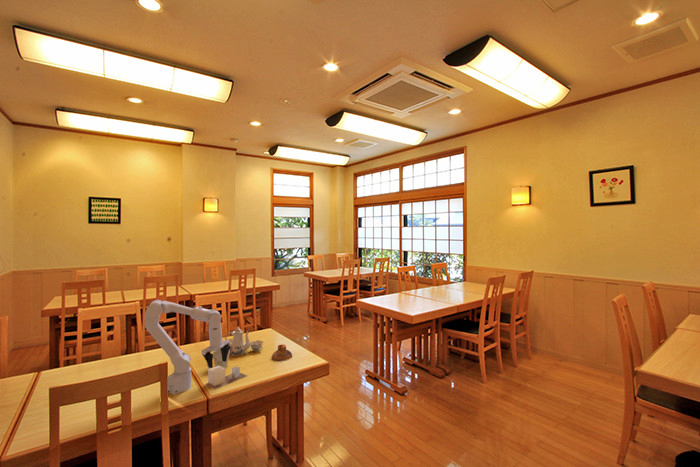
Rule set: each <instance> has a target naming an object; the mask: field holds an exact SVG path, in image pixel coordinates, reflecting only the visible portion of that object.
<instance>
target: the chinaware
mask: <svg viewBox="0 0 700 467" xmlns="http://www.w3.org/2000/svg"><path fill="white" fill-rule="evenodd" d="M249 333H250V331H246V332H245V335H243V334H244V330H242V329H241V328H240V327H239V326H237V328H236V329H235V330H233V331H232V332H227V333H226V334H225V335H224V336H225V337H224V341H227V340H229V341H230V345H229V346H230V353H229V354H230V356H233V357H239V355H240V356H243V355H245V354H246V351H248V350H249V349H251V350H253V352H254V351H257V352H260V351H262V350H263V345H264V341H262V340H260V339H259V340H258V339H257V340H256V341H254V340H251V341H250V338H249ZM229 334H230V336H231V337H232V338H229V339H227V336H228V335H229ZM243 336H244V337H245V341H244V338H243Z"/></svg>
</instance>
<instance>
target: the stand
mask: <svg viewBox="0 0 700 467" xmlns="http://www.w3.org/2000/svg"><path fill="white" fill-rule="evenodd" d="M247 377H248V375H247V374H245V373H242V372H240V378H238V379H233V378H232V373H230V374H228V375H225V382H224V383H221V384H219V385H216V386H213V385H211V384H209V383H208V382H207V383H205V384H204V385H205V386H206V387H209V388H211V389H213V390H218V389H220V388H222V387H225V386H228V385H230V384H231V383H234V382H237V381H239V380H243V379H244V378H247Z"/></svg>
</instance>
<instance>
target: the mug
mask: <svg viewBox="0 0 700 467" xmlns="http://www.w3.org/2000/svg"><path fill="white" fill-rule="evenodd" d="M212 354H213V360H214V361H213V362H214V365H213V367H216V366H221V367H223V368H225V369H227V367H228V364H229V360H230V359H229V358H230V354H231V353H230V350H229V352H228V355H227V360H226V362H224V361H222V353H221V349H220V348H219V349H217V350H214V351H212ZM206 365H207V367H208V364H207V363H206ZM213 367H212V368H213ZM208 369H211V368H209V367H208Z"/></svg>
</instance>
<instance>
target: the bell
mask: <svg viewBox="0 0 700 467" xmlns="http://www.w3.org/2000/svg"><path fill="white" fill-rule="evenodd" d="M292 357H293V353H292V351H290V350H288V349H287V346H286V344H284V343H281V344H279V345H278V346H277V350H276V351H274V352H273V354H272V355H271V360H273V361H276V360H277V361H279V362H282V360H283V361H286V360H287V359H288V360H290V359H291V358H292ZM289 358H290V359H289Z"/></svg>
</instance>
